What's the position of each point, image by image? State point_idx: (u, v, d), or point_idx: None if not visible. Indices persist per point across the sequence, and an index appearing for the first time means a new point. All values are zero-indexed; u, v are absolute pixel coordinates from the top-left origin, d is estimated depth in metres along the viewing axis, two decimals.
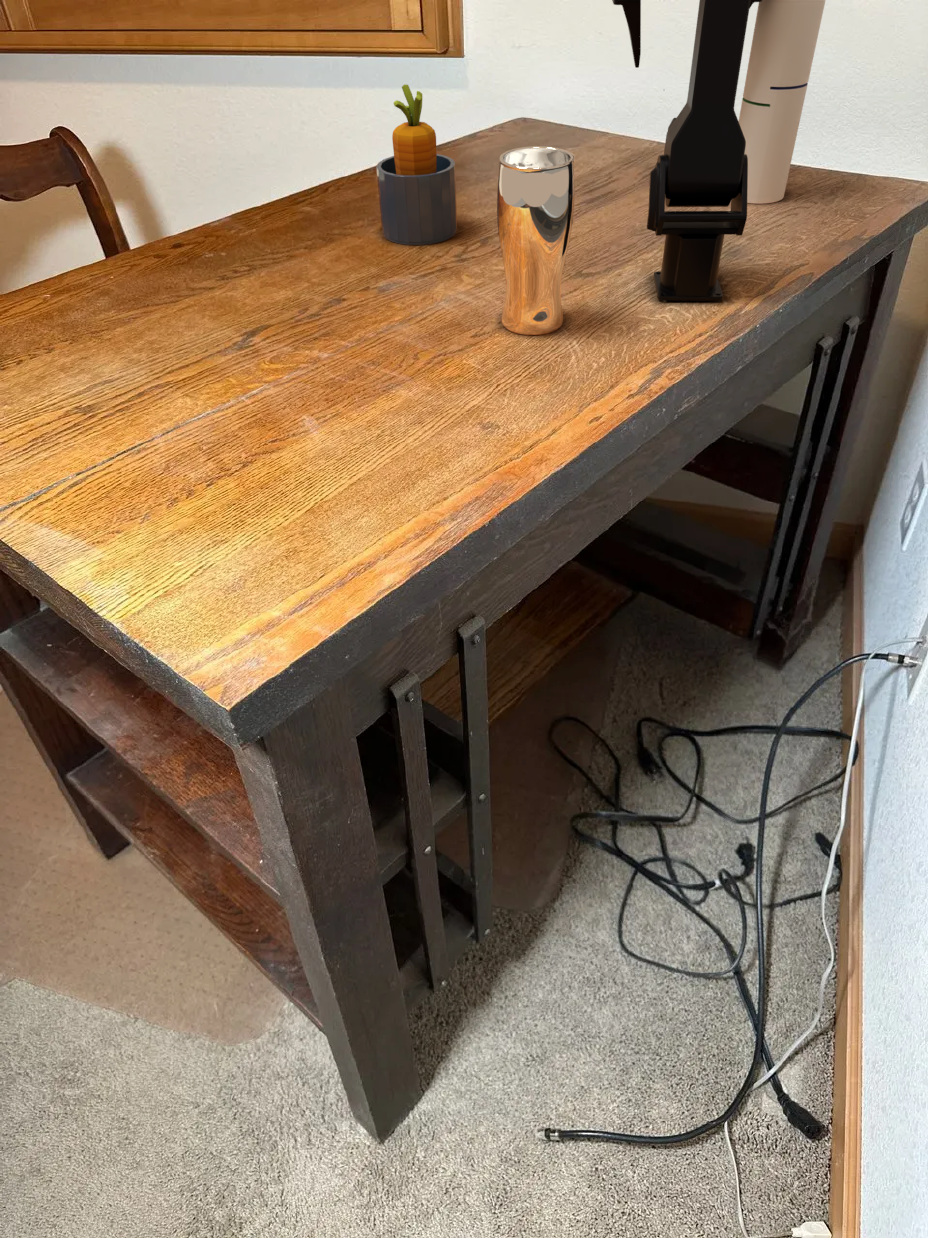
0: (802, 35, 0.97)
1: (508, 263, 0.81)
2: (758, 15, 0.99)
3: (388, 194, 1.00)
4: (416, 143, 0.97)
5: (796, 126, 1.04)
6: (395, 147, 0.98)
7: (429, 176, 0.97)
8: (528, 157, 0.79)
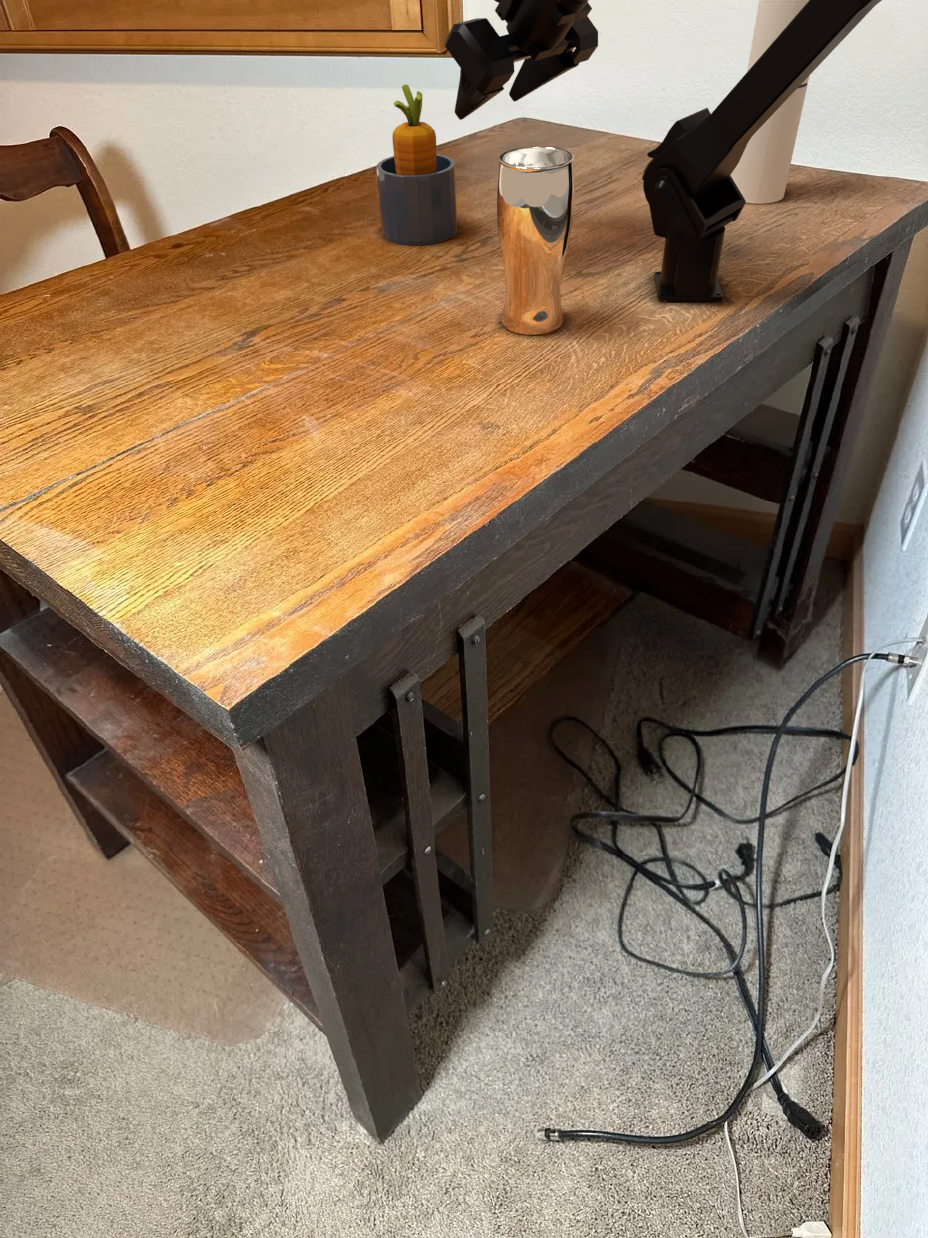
0: None
1: (508, 263, 0.81)
2: (758, 15, 0.99)
3: (388, 194, 1.00)
4: (416, 143, 0.97)
5: (796, 126, 1.04)
6: (395, 147, 0.98)
7: (429, 176, 0.97)
8: (528, 157, 0.79)
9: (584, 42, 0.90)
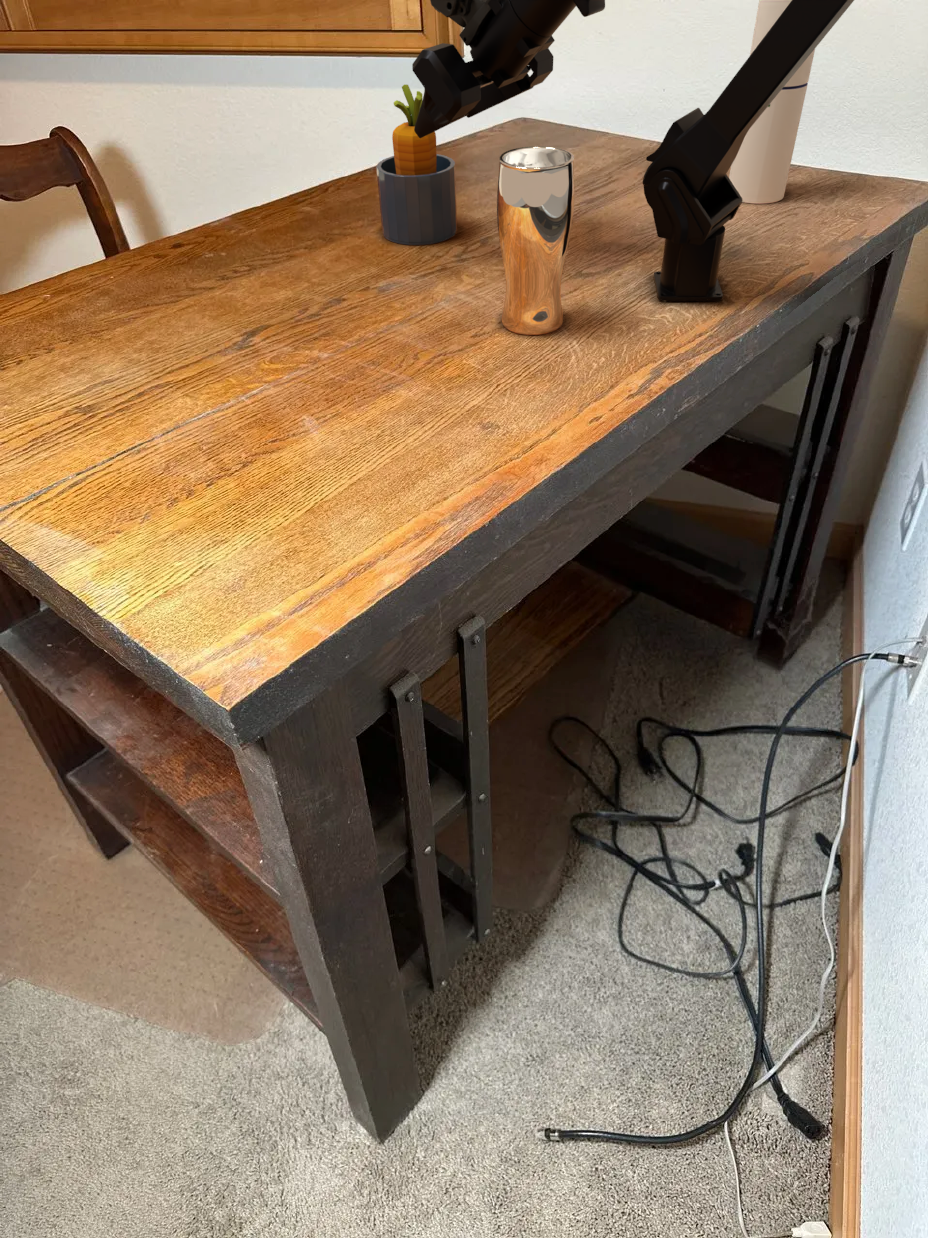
0: None
1: (508, 263, 0.81)
2: (758, 15, 0.99)
3: (388, 194, 1.00)
4: (416, 143, 0.97)
5: (796, 126, 1.04)
6: (395, 147, 0.98)
7: (429, 176, 0.97)
8: (528, 157, 0.79)
9: (541, 67, 0.92)
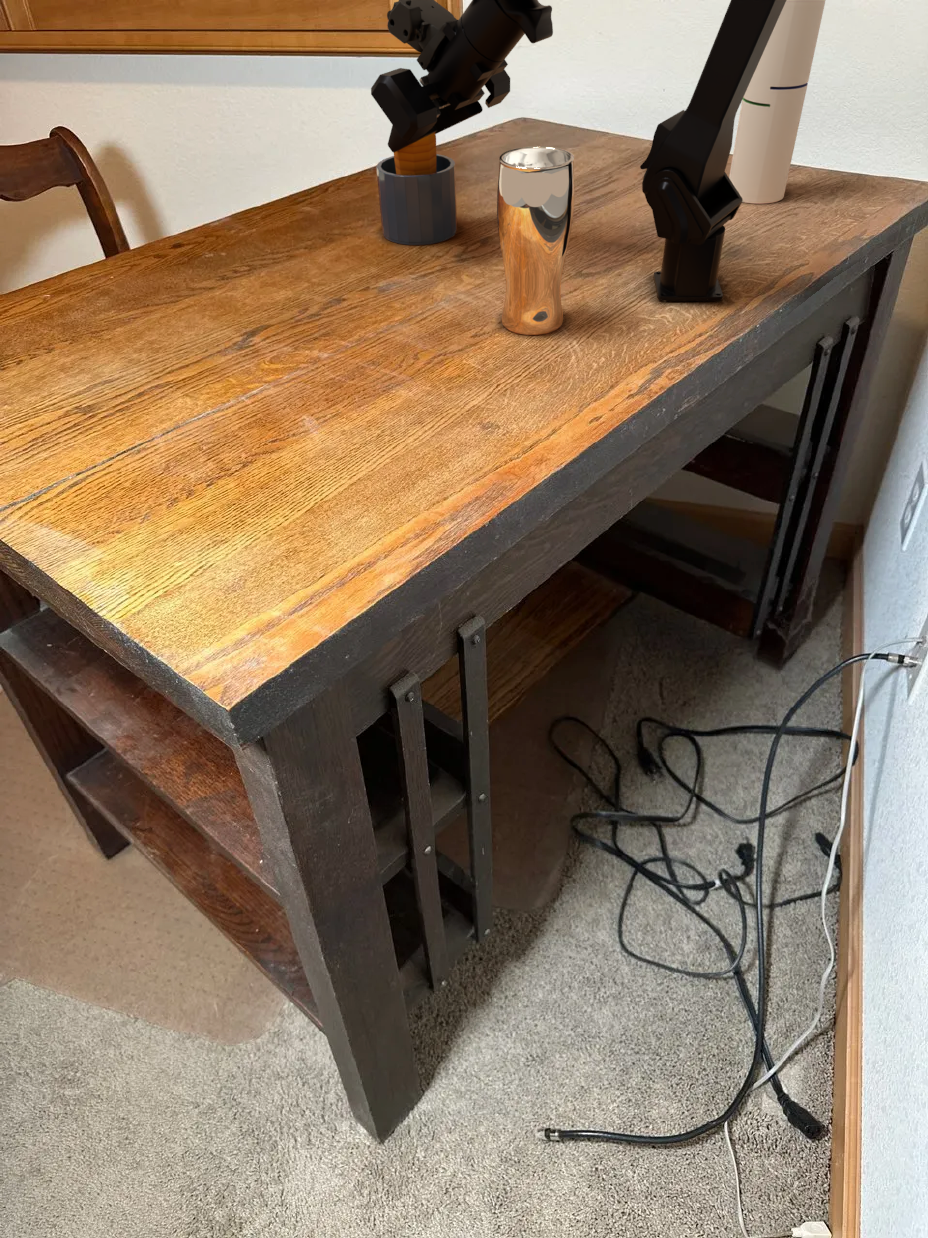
0: (802, 35, 0.97)
1: (508, 263, 0.81)
2: None
3: (388, 194, 1.00)
4: (416, 143, 0.97)
5: (796, 126, 1.04)
6: None
7: (429, 176, 0.97)
8: (528, 157, 0.79)
9: (498, 89, 0.96)
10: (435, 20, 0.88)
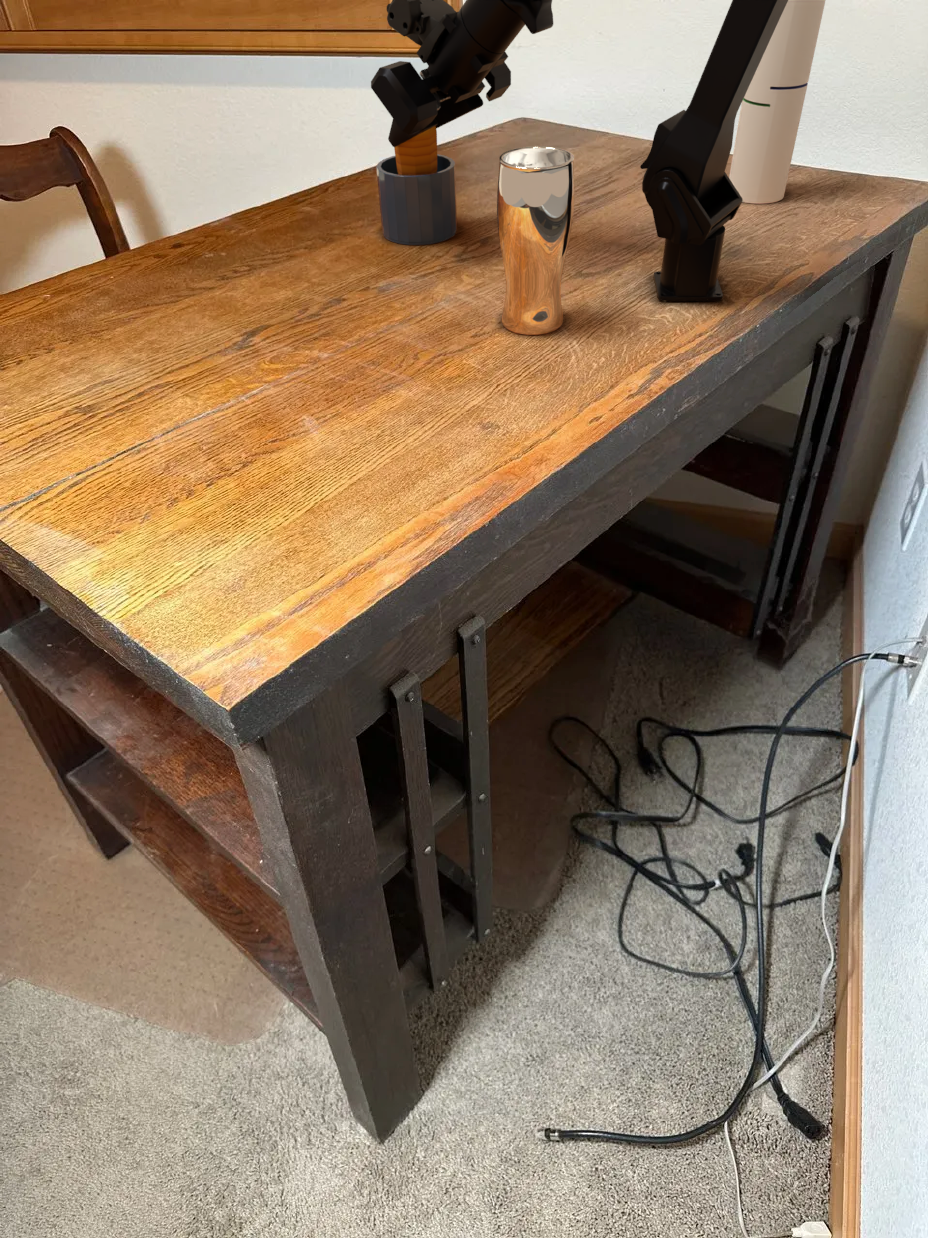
0: (802, 35, 0.97)
1: (508, 263, 0.81)
2: None
3: (388, 194, 1.00)
4: (416, 137, 0.96)
5: (796, 126, 1.04)
6: None
7: (429, 176, 0.97)
8: (528, 157, 0.79)
9: (498, 82, 0.96)
10: (435, 13, 0.88)
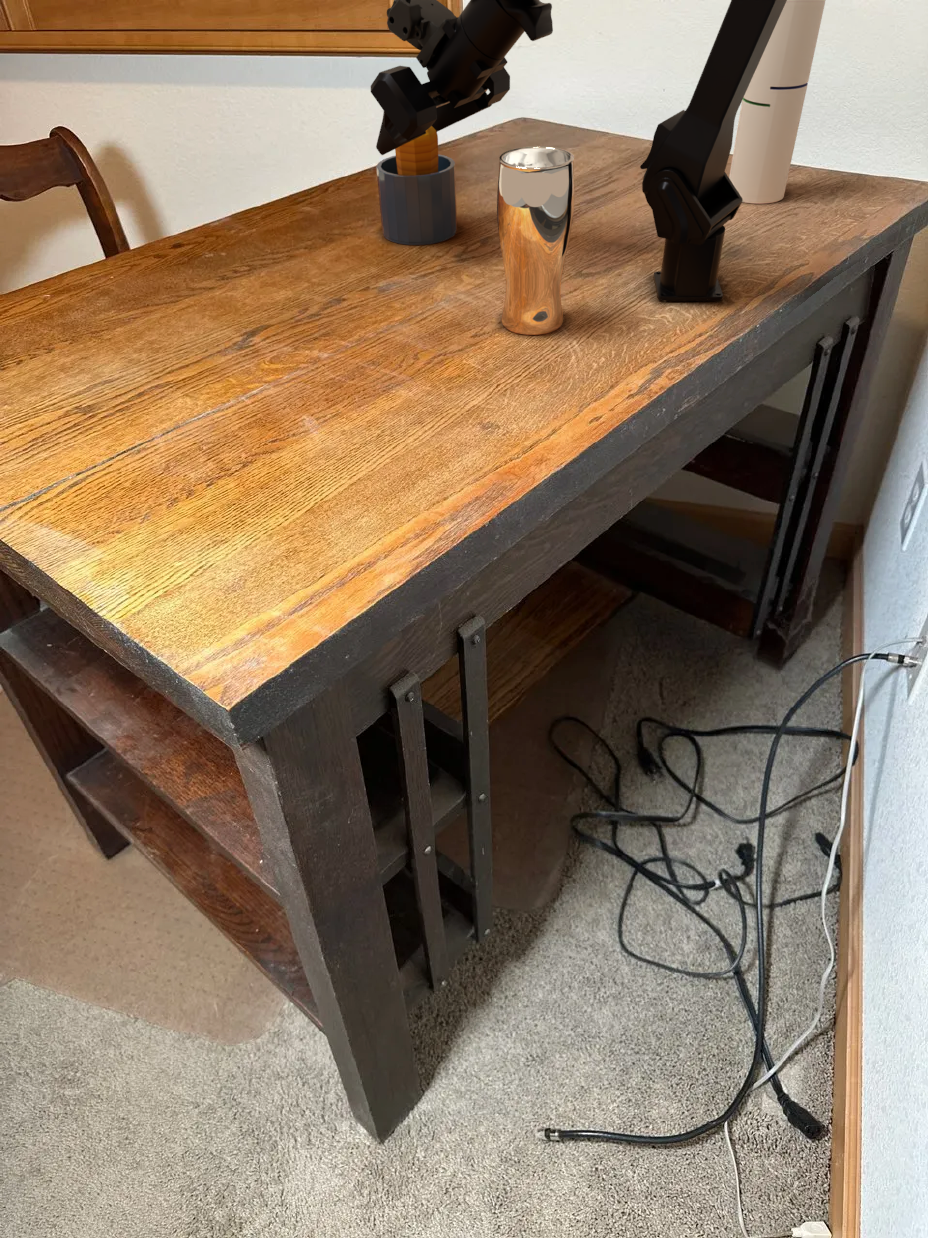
0: (802, 35, 0.97)
1: (508, 263, 0.81)
2: None
3: (388, 194, 1.00)
4: (417, 143, 0.97)
5: (796, 126, 1.04)
6: (396, 148, 0.98)
7: (429, 176, 0.97)
8: (528, 157, 0.79)
9: (498, 87, 0.96)
10: (435, 18, 0.88)
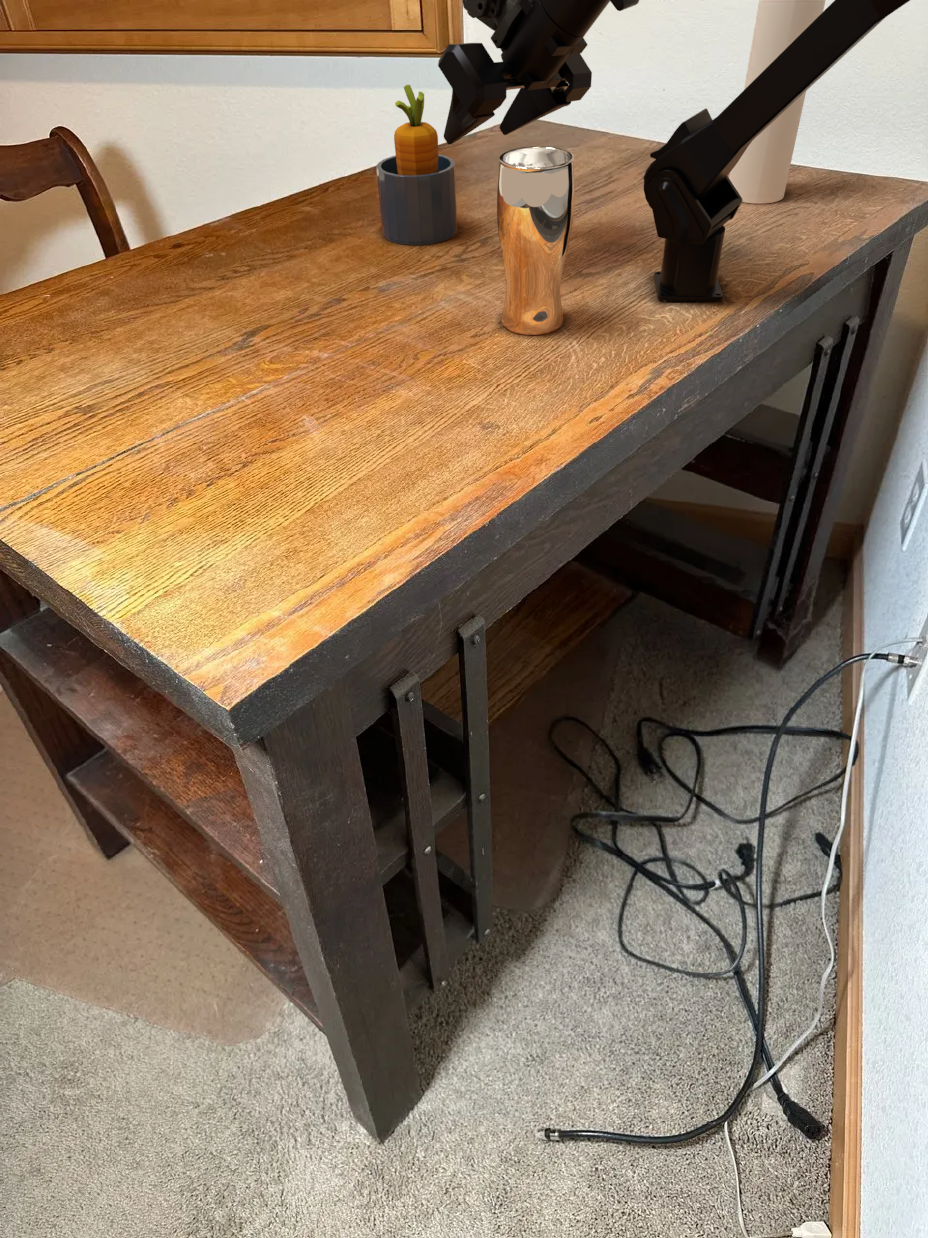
0: None
1: (508, 263, 0.81)
2: (758, 15, 0.99)
3: (388, 194, 1.00)
4: (417, 143, 0.97)
5: (796, 126, 1.04)
6: (396, 148, 0.98)
7: (429, 176, 0.97)
8: (528, 157, 0.79)
9: (577, 81, 0.90)
10: None
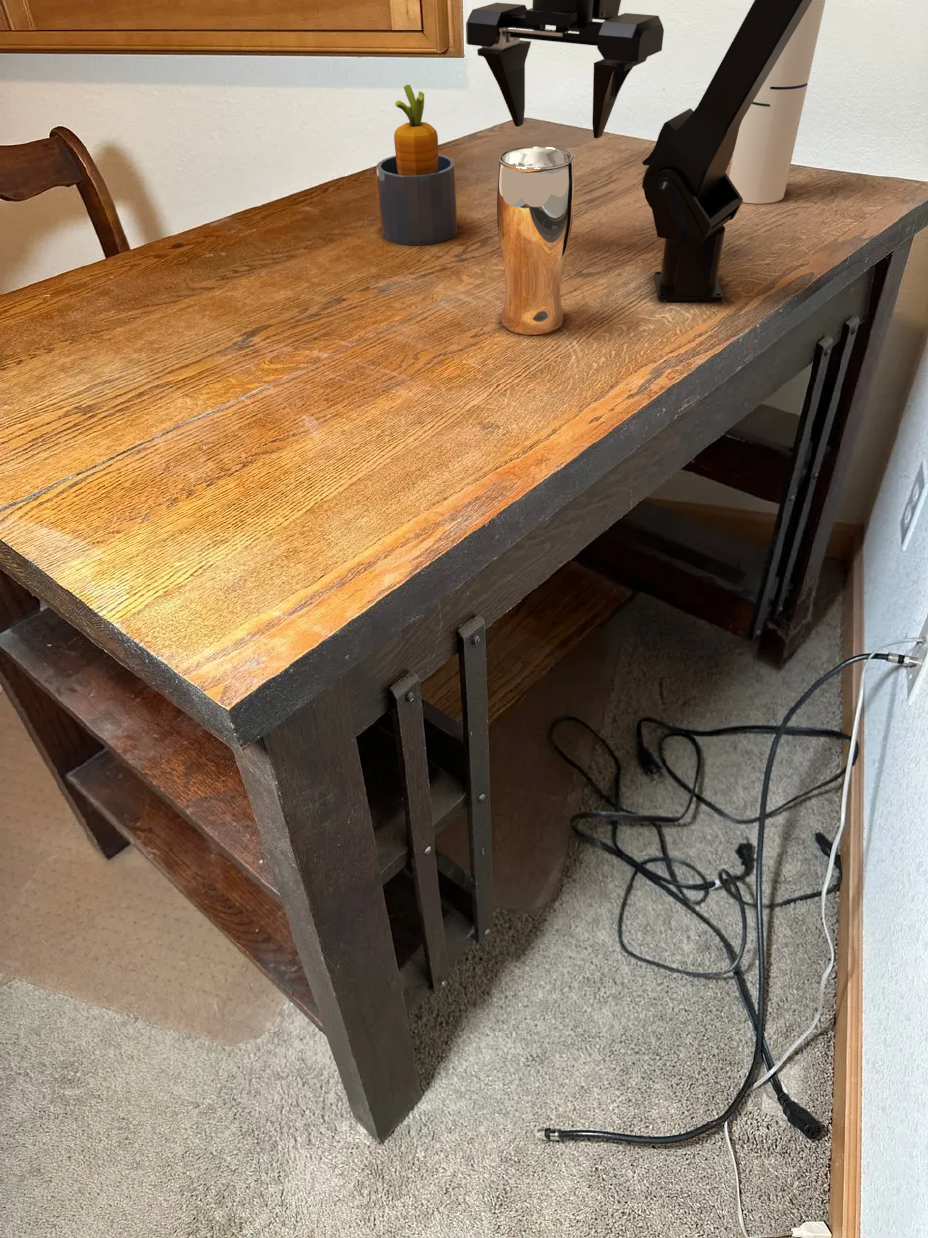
0: (802, 35, 0.97)
1: (508, 263, 0.81)
2: None
3: (388, 194, 1.00)
4: (417, 143, 0.97)
5: (796, 126, 1.04)
6: (396, 148, 0.98)
7: (429, 176, 0.97)
8: (528, 157, 0.79)
9: (609, 28, 0.78)
10: None
